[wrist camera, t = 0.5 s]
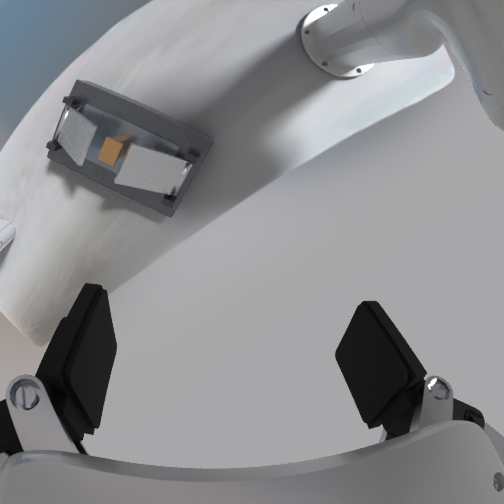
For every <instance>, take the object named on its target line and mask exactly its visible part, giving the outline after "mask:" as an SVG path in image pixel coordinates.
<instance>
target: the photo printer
mask: <svg viewBox="0 0 504 504" xmlns="http://www.w3.org/2000/svg"><path fill="white" fill-rule="evenodd" d="M14 235H15V227H14V224H13V223H12V222H11V221H10V220H4V219H0V251H1V250H2V249H3V248H4V247H5V246H6V245H7V244H8V243H9V242H10V241H11V240H12V239H13V238H14Z"/></svg>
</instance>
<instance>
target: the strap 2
mask: <svg viewBox="0 0 504 504" xmlns="http://www.w3.org/2000/svg"><path fill="white" fill-rule="evenodd" d="M192 165H193V163H191V162H190V161H188V160H185V159H182V158H179V157H176V156H173V155H170V154H167V153H164V152H160V151H157V150H154V149H151V148H147V147H144V146H141V145H138V144H134V143H130V145H129V147H128V149H127V152H126V154H125V156H124V158H123V161H122V163H121V165H120V168H119V170H118V172H117V175H116V177H115V180H114V182H115V183H116V184H121V185H126V186H131V187H135V188H140V189H145V190H150V191H154V192H159V193H163V194H168V195H172V196H176V195H177V193H178V191H179V189H180V187H181V185H182V184H183V182H184V180H185V178H186V176H187V174H188V173H189V171H190V169H191V167H192Z"/></svg>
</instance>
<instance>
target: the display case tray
mask: <svg viewBox="0 0 504 504" xmlns="http://www.w3.org/2000/svg"><path fill="white" fill-rule="evenodd" d="M63 103H66V105H65V107H64V110H63V112H62V115H61V117H60V120H59V122H58V125H57V128H56V131H55V134H54V137H53V140H52V141H50V142H48V143H47V146H46V148H48V149H49V152H48V155H47V157H48V158H50V159H52V160H54V161H56V162H58V163H60V164H62V165H64V166H66V167H68V168H70V169H72V170H74V171H76V172H78V173H80V174H82V175H84V176H87V177H89V178H91V179H93V180H95V181H97V182H99V183H101V184H103V185H105V186H107V187H109V188H111V189H113V190H115V191H117V192H119V193H121V194H123V195H125V196H127V197H129V198H132V199H134V200H136V201H138V202H140V203H142V204H144V205H146V206H148V207H150V208H152V209H154V210H156V211H158V212H160V213H162V214H164V215H166V216H169V217H171V218H172V216H173V214H174V212H175V210H176V209H177V207H178V205H179V203H180V201H181V199H182V197H183V195H184V193H185V191H186V190H187V188H188V186H189V184H190V182H191V180H192V179H193V177H194V175H195V173H196V171H197V170H198V168H199V166H200V164H201V163H202V161H203V159H204V157H205V156H206V154H207V152H208V151H209V149H210V147H211V146H212V144H213V141H214V139H213V138H211V137H209V136H207V135H205V134H203V133H201V132H199V131H197V130H195V129H193V128H191V127H190V126H188V125H186V124H184V123H182V122H180V121H178V120H176V119H173V118H171V117H169V116H167V115H165V114H163V113H161V112H159V111H157V110H155V109H153V108H150V107H148V106H146V105H144V104H142V103H139V102H137V101H135V100H133V99H130V98H128V97H126V96H123V95H121V94H119V93H116V92H114V91H112V90H109V89H107V88H104V87H102V86H99V85H97V84H94V83H92V82H89V81H82V80H76V82H75V84H74V86H73V89H72V91H71V93H70V95H69V96H67V97H64V99H63ZM66 106H72V107H74V108H75V109H76V110H77V111H78V112H80V113H81V114H82V115H83V116H84V117H86V118H87V119H88V120H89V121H91V122H92V123H93V124H94V125H95V126H97V129H96V131H95V133H94V136H93V138H92V141H91V143H90V146H89V148H88V151H87V154H86V156H85V159H84V162H83V165H82V166H80V165H77V163H76V162H75V161H74V160H73V159H72V158H71V156H70V155H69V154H68V153H67V152H66V151H65V149H64V148H63V147H62V146H61V145H60V143H59V142H58V141H57V140H56V139H55V135H56V132H57V129H58V127H59V124H60V121H61V119H62V116H63V113H64V111H65V109H66ZM130 143H134V144H138V145H141V146H144V147H147V148H151V149H154V150H157V151H160V152H164V153H167V154H170V155H173V156H176V157H179V158H182V159H185V160H188V161H190V162H191V163H193V165H192V167H191V169H190V171H189V173H188V174H187V176H186V178H185V180H184V182H183V184H182V185H181V187H180V189H179V191H178V193H177V195H176V196H172V195H168V194H163V193H159V192H154V191H150V190H145V189H140V188H135V187H131V186H126V185H121V184H116V183H115V182H114V180H115V177H116V175H117V172H118V170H119V168H120V165H121V163H122V161H123V158H124V156H125V154H126V152H127V149H128V147H129V145H130Z"/></svg>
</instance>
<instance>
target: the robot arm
mask: <svg viewBox="0 0 504 504" xmlns="http://www.w3.org/2000/svg"><path fill="white" fill-rule="evenodd" d="M324 10H325V11H324ZM305 32H307V34H306V33H305ZM445 40H446V42H447V43H448V45H449V46H450V48H451V49H452V51H453V53H454V54H455V55H456V57H457V58H458V60H459V62H460V64H461V65H462V67H463V69H464V71H465V72H466V75H467V77H468V78H469V80H470V82H471V84H472V86H473V88H474V90H475V92H476V94H477V96H478V99H479V101H480V103H481V105H482V107H483V109H484V111H485V112H486V114H487V115H488V117H489V118H490V120H491V121H492V122H493V123H494V124H495V125H496V126H497V127H499V128H500V129H501V130H503V131H504V0H345V1H343V2H342V3H340V4H339V5H324V6H321V7H318V8H316V9H314V10H313V11H311V12H310V13H309V14H308V15H307V16H306V18H305V19H304V21H303V23H302V27H301V41H302V45H303V47H304V49H305V51H306V53H307V54H308V56H309V57H310V59H311V60H312V61H313V62H314V63H315V64H316V65H317V66H318V67H320V68H321V69H322V70H324V71H326V72H328V73H330V74H333V75H335V76H340V77H356V76H360V75H363V74H364V73H366V72H368V71H369V70H370V69H371V68H372V67H373V66H374V64H375V63H380V62H387V61H394V60H402V59H411V58H420V57H425V56H428V55H431V54H433V53H434V52H436V51H437V50H438V49H439V48H440V47H441V46H442V44H443V43H444V41H445ZM322 63H324V66H323V64H322ZM356 70H357V71H356ZM116 350H117V343H116V338H115V334H114V328H113V323H112V319H111V312H110V307H109V301H108V294H107V291H106V290H105V289H103V288H102V286H101V285H98V284H90V283H86V284H85V285H84V286H83V288H82V290H81V292H80V294H79V295H78V297H77V299H76V301H75V303H74V304H73V306H72V308H71V310H70V312H69V314H68V316H67V317H64V318H62V320H61V321H60V323H59V325H58V327H57V329H56V331H55V333H54V335H53V337H52V339H51V341H50V343H49V346H48V348H47V350H46V352H45V354H44V356H43V359H42V361H41V363H40V366H39V368H38V370H37V373H36V375H35V377H34V376H32V375H21V376H18V377H16V378H15V379H13V380H12V381H11V382H10V384H9V385H8V387H7V390H6V399H5V400H2V401H0V504H504V437H503V436H502V435H501V434H499V433H498V432H497V431H496V430H494V429H493V428H492V427H491V426H490V425H488V424H487V423H486V424H485V421H484V417H483V415H482V413H481V412H480V411H479V410H478V409H476V408H474V407H472V406H470V405H468V404H465V403H463V402H461V401H459V400H457V399H454V398H453V390H452V388H451V386H450V385H449V383H448V382H447V381H446V380H445V379H443V378H441V377H439V376H431V377H428V378H427V380H426V381H425V380H424V377H425V375H426V374H427V372H426V370H425V369H424V367H423V366H422V364H421V363H420V361H419V360H418V358H417V357H416V355H415V354H414V352H413V351H412V349H411V348H410V346H409V345H408V343H407V342H406V340H405V339H404V338H403V336H402V335H401V333H400V332H399V331H398V329H397V328H396V326H395V325H394V323H393V322H392V321H391V319H390V318H389V317H388V315H387V314H386V312H385V311H384V310H383V308H382V307H381V306H380V304H379V303H378V302H377V301H363V302H362V303H361V304H360V305H359V306H358V307H357V309H356V311H355V313H354V315H353V317H352V319H351V321H350V324H349V326H348V328H347V330H346V332H345V334H344V336H343V338H342V340H341V342H340V344H339V346H338V348H337V350H336V353H335V358H336V361H337V362H338V365H339V367H340V369H341V372H342V374H343V376H344V378H345V380H346V383H347V385H348V387H349V390H350V392H351V394H352V397H353V398H354V401H355V403H356V406H357V408H358V410H359V413H360V415H361V417H362V419H363V421H364V422H365V423H367V425H368V428H369V429H371V428H375V427H378V426H380V425H381V424H382V425H383V427H384V429H383V432H382V435H381V438H380V441H379V443H378V444H375V445H371V446H368V447H365V448H361V449H358V450H354V451H350V452H346V453H342V454H338V455H333V456H328V457H324V458H319V459H314V460H308V461H302V462H295V463H288V464H281V465H272V466H262V467H249V468H231V469H230V468H229V469H197V468H176V467H164V466H154V465H144V464H136V463H129V462H123V461H116V460H111V459H106V458H100V457H94V456H90V455H89V453H88V451H87V450H86V448H85V447H84V445H83V444H82V442H81V441H82V440H83V437H84V433H86V434H91V435H93V434H94V429H95V428H99V426H100V421H101V416H102V411H103V406H104V401H105V397H106V392H107V387H108V383H109V379H110V375H111V371H112V367H113V363H114V359H115V355H116Z"/></svg>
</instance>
